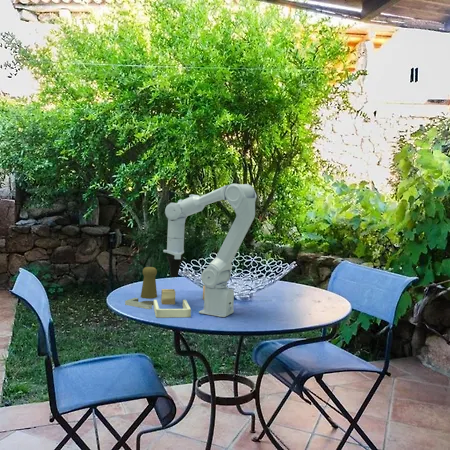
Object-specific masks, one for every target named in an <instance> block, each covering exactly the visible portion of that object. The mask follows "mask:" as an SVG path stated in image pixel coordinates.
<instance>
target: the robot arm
mask: <svg viewBox="0 0 450 450" xmlns="http://www.w3.org/2000/svg"><path fill="white" fill-rule="evenodd" d="M188 196H189V197H186V198H185V199H179V200H178V199H177V202H169V203H168V204H166V207H165V210H164V214H165V217H166V218H167V235H166V237H167V241H166V242H167V243H166V249H163V250H162V251H163V253H165V254H166V253H167V254H170V255H166V259H167V262H168V266H169V272H170V277H171V278H178V277H179V271H180V268H181V265H182V263H183V261H184V256H183V254H184V253H185V249H184V248H185V247H184V246H185V225H186V224H185V223H186V219H187V218H188V216H192V215H194V214H197V213H199V212H202V211H203V210H204V208H205V207H206V206H208V205H210V204H212V203H216V202H219V201H222V200H223V201H227V203H228V204H229V205H230V206H231V208H232V209H233V210H234V212H235V218H234V221H233V222H232V224H231V226H230V227H229V230H228V233H227V234H226V237H225V238H224V240H223V243H222V245H221V246H220V248H219V251H218V252H217V254H216V256H215V257H214V259H213V260H211V261H210V263H209V264H208V266H207V267H206V268H205V269H203V270H202V273H201V275H200V278H201V279H200V280H201V282H202V284H203V285H204V287H205V295H204V300H203V309H200V311H199V310H198V313H199V314H203V315H209V316H215V317H220V318H225V317H227V316H230V315H231V314H233V313H234V312H235V311H234V302H235V301H234V300H235V291H234V289H232V288H229V287H228V286H227V285H228V282H229V281H230V279H231V276H232V275H231V274H232V273H231V272H232V269H233V264H232V263H233V261H234V259H235V257H236V255H237V252H238V251H239V249H240V247H241V245H242V243H243V240H244V239H245V237H246V235H247V233H248V231H249V230H250V227H251V225H252V223H253V221H254V219H255V217H256V201H257V198H258V196H257V193H256V190H255V188H254V186H252V185H251V184H249V183H244V184H243V183H242V184H241V183H231V184H228V185H224V186H221V187H219V188H217V189H214V190H212V191H211V192H208V193H206V194H203V195H202V196H200V195H198V194H189V195H188Z"/></svg>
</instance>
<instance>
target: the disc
mask: <svg viewBox="0 0 450 450" xmlns="http://www.w3.org/2000/svg"><path fill="white" fill-rule="evenodd" d="M141 302H143V303H148V304H152V306H153V304H154V300H153V301H152V300H142V301H141Z"/></svg>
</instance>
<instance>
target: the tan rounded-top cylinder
mask: <svg viewBox="0 0 450 450" xmlns="http://www.w3.org/2000/svg"><path fill="white" fill-rule="evenodd" d="M204 295H205V287H204V284H203V286H202V300H203V301H204Z"/></svg>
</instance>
